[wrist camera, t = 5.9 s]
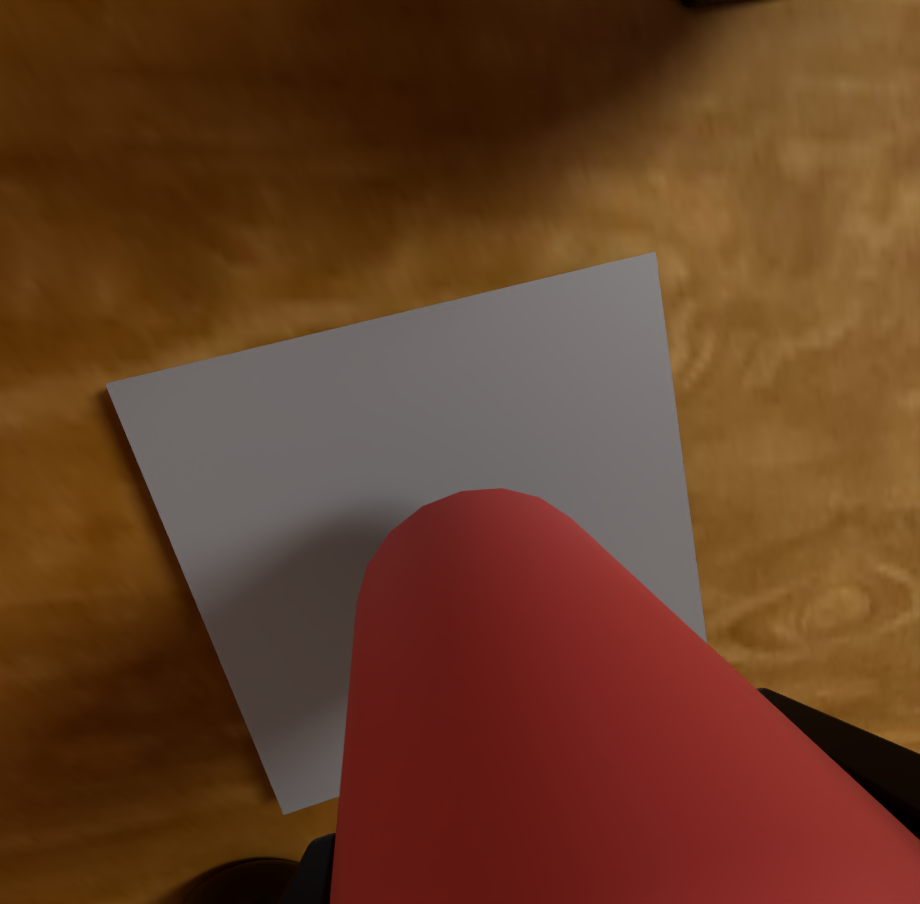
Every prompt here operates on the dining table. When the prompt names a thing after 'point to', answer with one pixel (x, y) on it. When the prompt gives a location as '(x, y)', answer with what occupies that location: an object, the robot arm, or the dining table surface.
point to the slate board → (403, 473)
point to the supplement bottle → (245, 884)
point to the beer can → (575, 739)
